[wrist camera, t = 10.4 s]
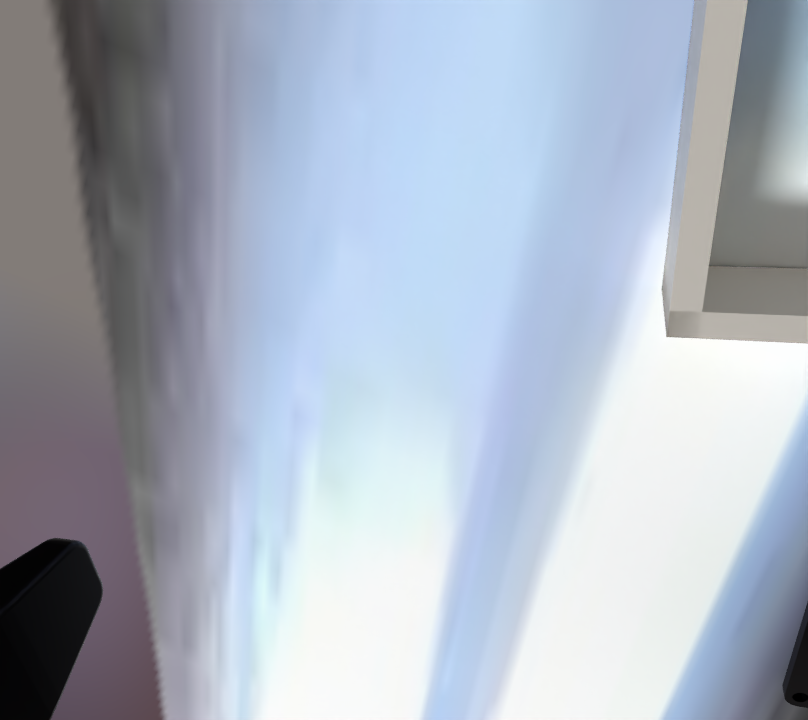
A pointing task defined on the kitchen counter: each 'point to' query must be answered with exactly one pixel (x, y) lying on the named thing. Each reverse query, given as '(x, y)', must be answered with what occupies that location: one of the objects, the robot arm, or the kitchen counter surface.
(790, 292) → the socket board
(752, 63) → the kitchen counter surface
